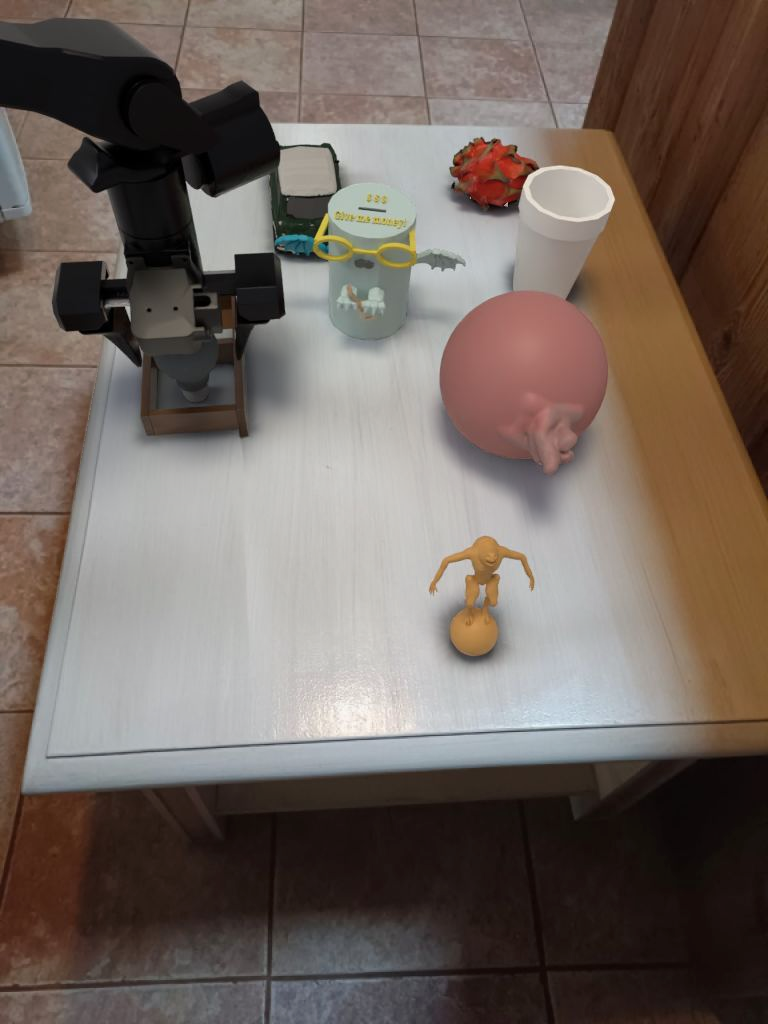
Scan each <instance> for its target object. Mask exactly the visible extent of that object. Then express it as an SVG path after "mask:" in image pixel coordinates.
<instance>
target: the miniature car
mask: <svg viewBox="0 0 768 1024" xmlns="http://www.w3.org/2000/svg"><path fill="white" fill-rule="evenodd" d="M279 145H280V152H281V155H280V164H279V167H278V168H277V170H276V171H274V172H272V173H270V174H268V175H267V177H268V179H267V180H268V186H269V187H268V188H269V197H270V208H271V219H272V233H273V235H272V236H273V247H274V253H280V252H281V253H282V252H285V246H284V245H282V244H277V245H276V246H275V241H276V239H277V238H279V237H281V236H286V235H291V236H292V235H306V236H308V237H312V238H314V239H315V236H316V234H317V232H318V230H319V228H320V225H321V223H322V221H323V219H324V217H325V215H326V213H327V214H328V204H329V202H330V200H331V198H332V196H333V195H334V194H336V193H337V192H338V191H339V190H341V189H342V184H341V179H340V160H339V159H338V157H337V153H336V151H335V150H334V148H333V146H332V145H331V143H329V142H322V143H321V144H306V143H305V144H301V143H300V144H292V145H281V144H279ZM327 235H328V226H327V229H326V231H325V233H324V235H323V236H327ZM322 244H324V245H325V246H328V245H329V241H327V242H323V243H322ZM287 252H291V253H292V254H294V255H296V253H295V252H294V251H291V250H288V251H287ZM313 252H314V251H312V252H311V253H313Z"/></svg>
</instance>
